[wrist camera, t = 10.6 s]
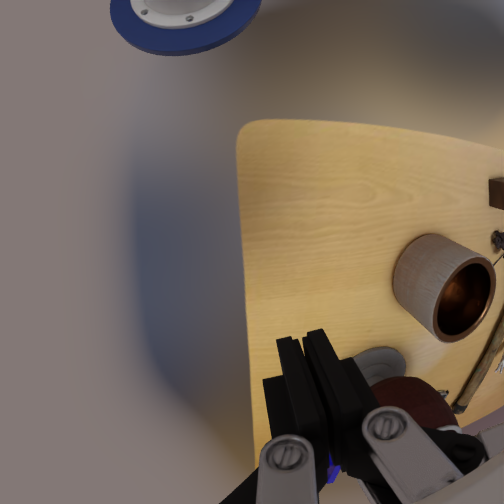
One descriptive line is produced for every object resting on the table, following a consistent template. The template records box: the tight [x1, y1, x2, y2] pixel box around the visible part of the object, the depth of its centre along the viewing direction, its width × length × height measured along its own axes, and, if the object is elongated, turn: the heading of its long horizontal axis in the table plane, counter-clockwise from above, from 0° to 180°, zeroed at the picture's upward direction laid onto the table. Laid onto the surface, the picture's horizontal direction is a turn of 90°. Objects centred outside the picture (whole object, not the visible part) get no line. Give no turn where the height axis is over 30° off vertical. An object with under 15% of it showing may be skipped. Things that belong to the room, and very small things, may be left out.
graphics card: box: [438, 390, 449, 400], centre depth 43 cm, size 7×1×3 cm
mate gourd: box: [353, 347, 462, 434], centre depth 31 cm, size 16×14×20 cm
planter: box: [393, 234, 496, 343], centre depth 31 cm, size 11×11×10 cm
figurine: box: [493, 231, 504, 266], centre depth 34 cm, size 5×8×4 cm
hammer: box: [452, 316, 504, 414], centre depth 40 cm, size 12×35×3 cm, turn 171°
